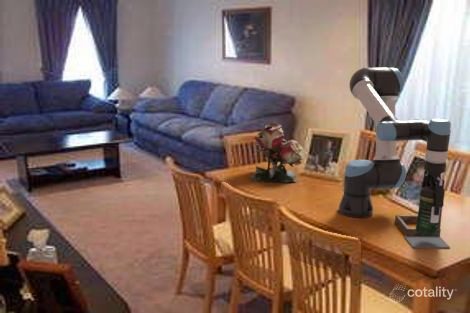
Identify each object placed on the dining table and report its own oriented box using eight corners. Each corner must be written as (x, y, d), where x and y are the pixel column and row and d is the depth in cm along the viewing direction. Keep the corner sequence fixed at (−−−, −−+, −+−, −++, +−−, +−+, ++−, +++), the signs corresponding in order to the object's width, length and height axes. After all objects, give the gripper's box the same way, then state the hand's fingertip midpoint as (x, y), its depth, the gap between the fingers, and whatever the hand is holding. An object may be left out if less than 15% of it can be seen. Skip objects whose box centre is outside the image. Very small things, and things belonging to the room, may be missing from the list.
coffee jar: (433, 238, 188) (438, 191, 183) (412, 233, 193) (417, 187, 188) (442, 231, 195) (448, 185, 190) (422, 226, 200) (427, 181, 195)
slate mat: (412, 248, 190) (412, 246, 190) (404, 237, 200) (404, 235, 200) (449, 248, 190) (449, 246, 190) (439, 237, 200) (439, 236, 200)
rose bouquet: (305, 183, 268) (308, 128, 260) (251, 182, 268) (252, 127, 260) (299, 170, 293) (301, 119, 285) (249, 169, 292) (250, 118, 285)
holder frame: (406, 236, 201) (407, 229, 200) (394, 221, 216) (395, 215, 215) (439, 236, 201) (440, 229, 200) (425, 221, 216) (426, 215, 215)
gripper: (458, 168, 176) (450, 228, 182) (434, 153, 197) (428, 207, 203) (437, 168, 176) (430, 228, 182) (415, 153, 197) (410, 207, 203)
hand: (429, 217), depth 192 cm, fingers closed on coffee jar, 9 cm apart
